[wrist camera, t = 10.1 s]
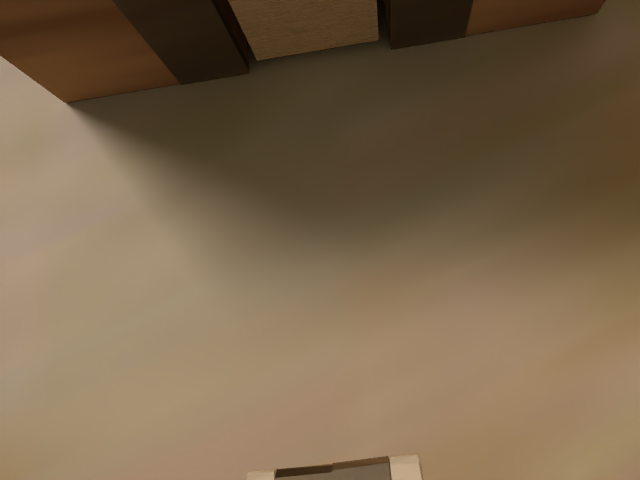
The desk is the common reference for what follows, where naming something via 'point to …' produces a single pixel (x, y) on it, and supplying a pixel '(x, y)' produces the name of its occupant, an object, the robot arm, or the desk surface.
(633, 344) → the desk surface
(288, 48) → the elongated beige block
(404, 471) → the robot arm
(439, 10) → the housing
